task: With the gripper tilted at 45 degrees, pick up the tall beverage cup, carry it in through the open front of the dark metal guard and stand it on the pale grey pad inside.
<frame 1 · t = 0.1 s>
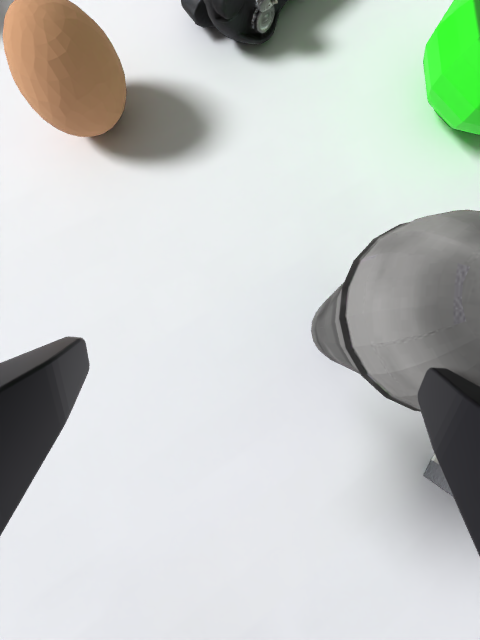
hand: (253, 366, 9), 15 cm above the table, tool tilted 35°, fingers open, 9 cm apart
egg: (98, 119, 25), on the table
beverage cup: (342, 329, 24), on the table
plastic bottle: (464, 100, 25), on the table
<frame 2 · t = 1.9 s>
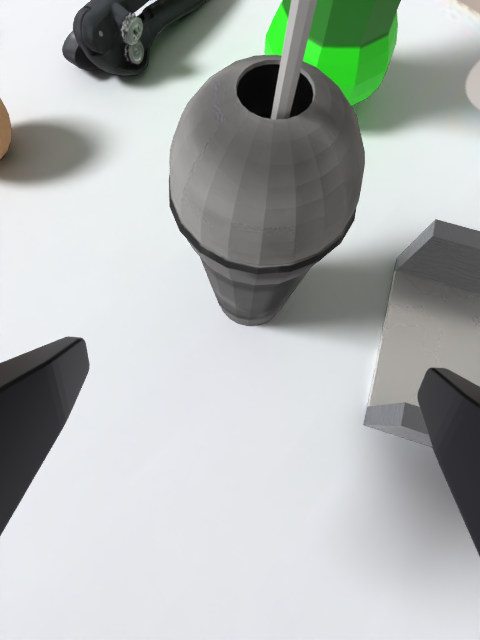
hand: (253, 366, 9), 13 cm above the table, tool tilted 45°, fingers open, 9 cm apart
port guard: (461, 359, 23), on the table
beverage cup: (250, 296, 24), on the table
plastic bottle: (316, 95, 30), on the table
can opener: (158, 36, 32), on the table
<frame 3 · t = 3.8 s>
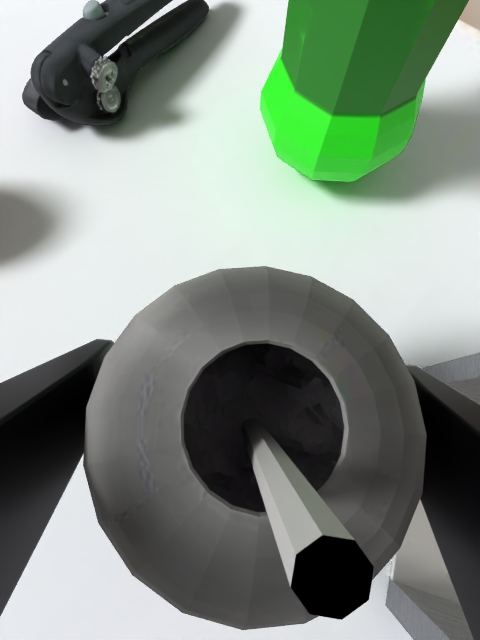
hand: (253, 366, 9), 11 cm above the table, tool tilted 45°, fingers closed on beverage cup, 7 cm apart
beverage cup: (241, 420, 19), on the table, touching gripper
plastic bottle: (322, 153, 25), on the table
can opener: (139, 73, 27), on the table
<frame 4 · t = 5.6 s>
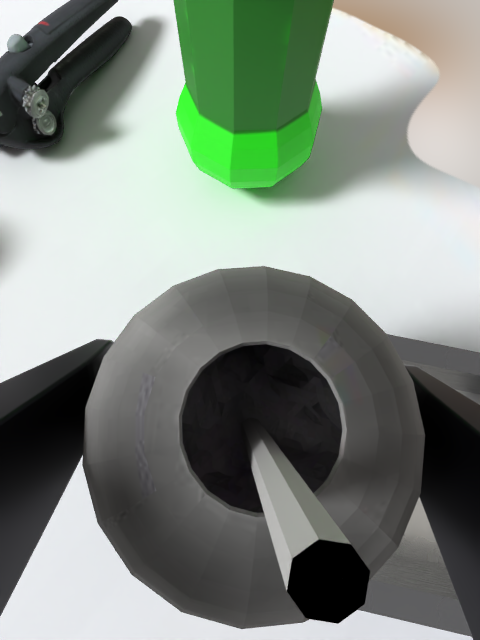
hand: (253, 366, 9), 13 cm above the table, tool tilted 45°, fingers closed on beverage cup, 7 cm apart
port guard: (422, 465, 20), on the table
beverage cup: (241, 419, 19), point 2 cm above the table, touching gripper
plastic bottle: (247, 161, 27), on the table
can opener: (73, 94, 29), on the table
when the fingers open (12 cm above the table, at t = 7.7 s): beverage cup stays where it is, resting on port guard.
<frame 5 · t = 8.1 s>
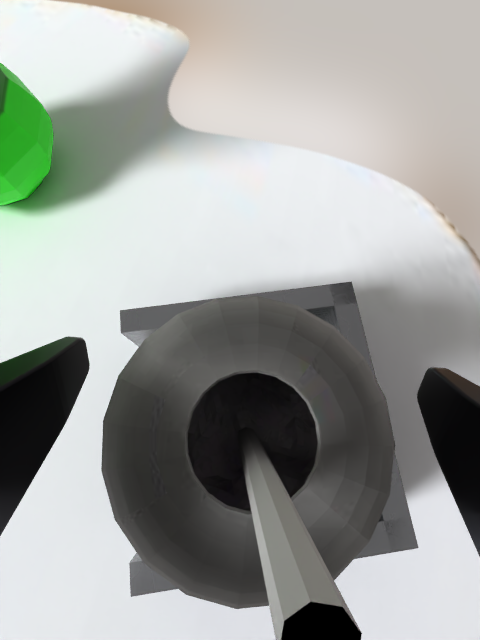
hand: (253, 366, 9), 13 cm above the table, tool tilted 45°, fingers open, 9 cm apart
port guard: (241, 420, 20), on the table
beverage cup: (240, 423, 20), resting on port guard
plastic bottle: (10, 177, 25), on the table
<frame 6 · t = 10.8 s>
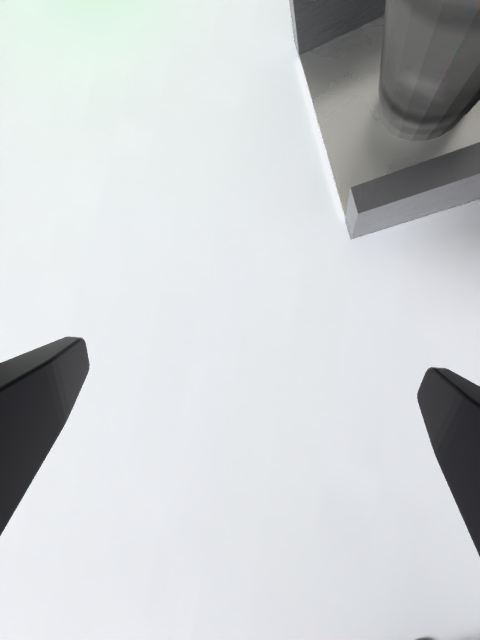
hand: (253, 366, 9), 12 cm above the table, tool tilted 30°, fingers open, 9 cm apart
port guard: (422, 98, 18), on the table
beverage cup: (422, 101, 18), resting on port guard
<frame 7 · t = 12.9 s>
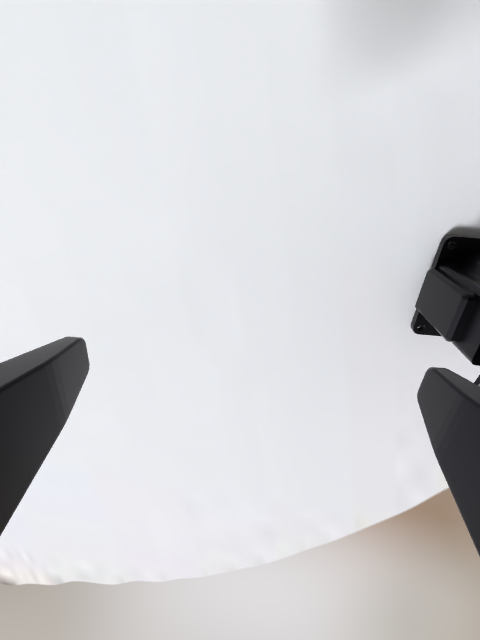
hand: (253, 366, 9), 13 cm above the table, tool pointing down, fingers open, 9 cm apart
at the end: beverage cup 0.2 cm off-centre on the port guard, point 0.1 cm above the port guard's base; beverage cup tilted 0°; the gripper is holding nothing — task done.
